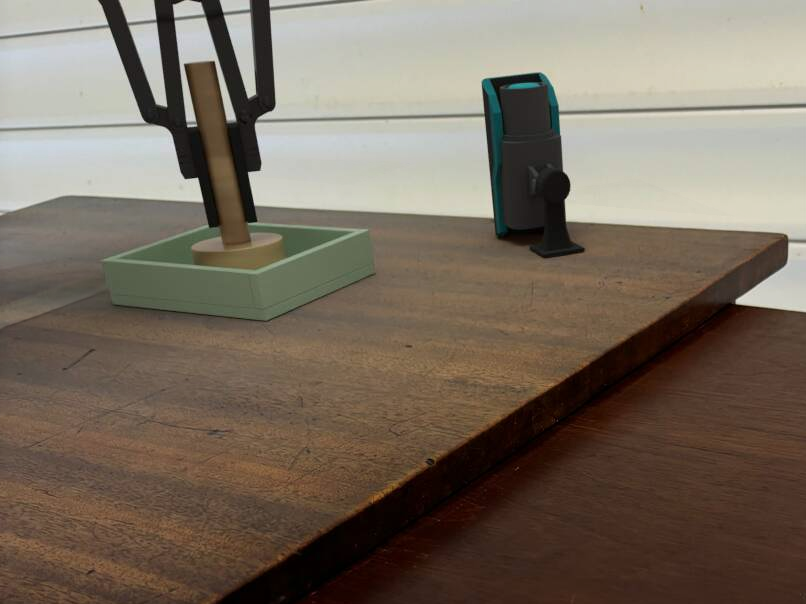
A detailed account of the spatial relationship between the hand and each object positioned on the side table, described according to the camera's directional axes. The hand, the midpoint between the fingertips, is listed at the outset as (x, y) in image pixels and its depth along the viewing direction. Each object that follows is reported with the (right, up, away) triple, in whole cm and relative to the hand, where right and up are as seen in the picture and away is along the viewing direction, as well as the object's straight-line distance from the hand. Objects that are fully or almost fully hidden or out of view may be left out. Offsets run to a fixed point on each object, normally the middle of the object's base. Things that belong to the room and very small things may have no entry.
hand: (232, 221), depth 90 cm
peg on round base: (0, -4, +2) cm, 4 cm away
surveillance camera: (+24, +2, +9) cm, 26 cm away
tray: (0, -4, +3) cm, 5 cm away
